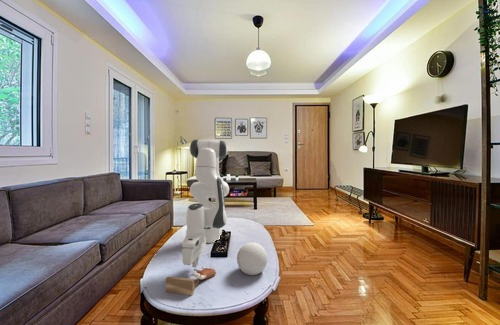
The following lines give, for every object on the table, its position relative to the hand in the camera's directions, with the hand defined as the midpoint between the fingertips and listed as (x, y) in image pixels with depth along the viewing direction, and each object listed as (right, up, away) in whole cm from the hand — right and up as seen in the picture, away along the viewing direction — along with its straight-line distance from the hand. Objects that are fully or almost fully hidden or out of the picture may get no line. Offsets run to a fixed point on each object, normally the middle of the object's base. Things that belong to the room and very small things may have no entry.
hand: (195, 266), depth 116 cm
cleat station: (-2, -4, -11) cm, 12 cm away
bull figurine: (+1, -2, -2) cm, 2 cm away
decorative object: (+28, -5, +2) cm, 28 cm away
